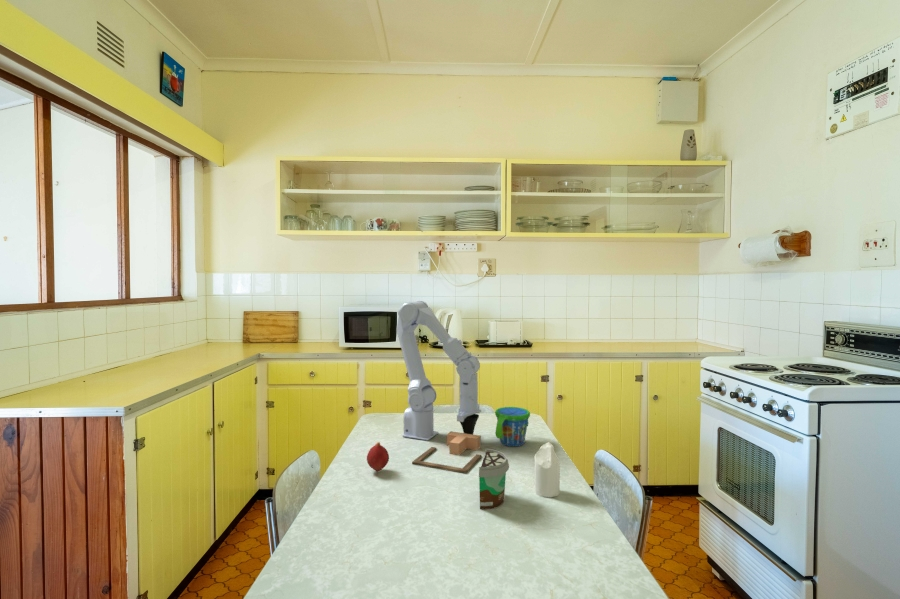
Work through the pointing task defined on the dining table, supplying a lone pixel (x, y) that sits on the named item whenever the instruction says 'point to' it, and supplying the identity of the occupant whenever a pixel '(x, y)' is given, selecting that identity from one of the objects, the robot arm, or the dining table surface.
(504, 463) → the food container
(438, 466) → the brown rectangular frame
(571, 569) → the dining table surface
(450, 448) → the T block
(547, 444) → the white piece
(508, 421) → the snack cup
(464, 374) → the robot arm
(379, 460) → the onion
